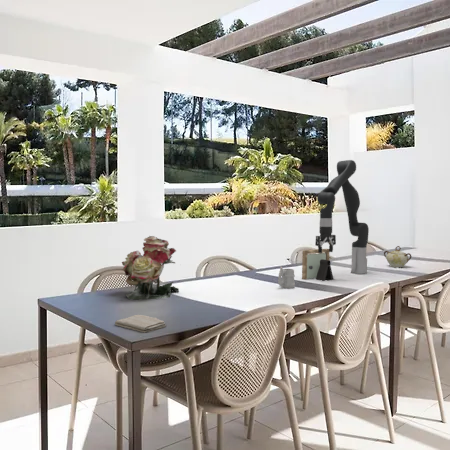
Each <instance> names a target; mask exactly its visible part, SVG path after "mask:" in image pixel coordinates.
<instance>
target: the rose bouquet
mask: <svg viewBox="0 0 450 450" xmlns="http://www.w3.org/2000/svg"><path fill="white" fill-rule="evenodd" d="M143 241H144V242H143V244H142V245H143V247H142V250H143V254H141V252H140V251H139V250H134V251H131V252H130V253H128V254H127V255H126V257H125V258H124V259H125V260H124V261H122V262H121V263H122V266H123V268H122V270H123V272H124V274H125V276H126V280H125V282H126V284H127V285H128V286H130V287H133V286H135V287H134V289H133V291H129V292H131V293H127V294H125V296H126V297H127V299H128V300H147V299H149V300H151V299H152V300H158V299H169V298H171V295H172V292H179V290H180V289H179V288H178V287H176V286H174V285H173V283H174V281H171V282H168V283H165V284H162V285H160V276H161V274H162V273H163V270H164V267H165V265H168V264H176V262H175V261H173V260H171V259H172V258H173V256H172V255H174V253H176V252H177V250H176V249H175V248H174V247H170V248H168V246H169V241H168V240H165V239H161V238H158V237H156V236H155V235H149V236H147V237H145V238H144V239H143ZM180 266H181V264H180ZM155 281H156V285H155V284H154V283H155ZM172 285H173V286H172Z"/></svg>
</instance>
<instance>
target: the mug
mask: <svg viewBox="0 0 450 450" xmlns="http://www.w3.org/2000/svg"><path fill="white" fill-rule="evenodd" d="M279 267H280V270H279V273H278V277H277V282H278V285H279V287H281V288H283V289H294V288H295V285H296V283H295V277H296V275H295V269H294V268H283V267H282V266H279Z"/></svg>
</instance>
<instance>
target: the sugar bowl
mask: <svg viewBox="0 0 450 450" xmlns="http://www.w3.org/2000/svg"><path fill="white" fill-rule="evenodd" d="M398 248H399V249H398ZM401 249H402V248H401V247H400V245H397V246H396V247H395V249H394V250H392V251H388V250H385V251H384V252H383V255H384V257H385V259H386V261H387V263H388V264H389V266H390V267H391V268H395V267H402V268H404V266H406V264H408V263H409V261H410V260H411V259H412V254H411V253H409V252H408V253H406V252H404V251H402V250H401ZM386 253H387V254H386ZM408 255H409V256H408Z"/></svg>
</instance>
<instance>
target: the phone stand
mask: <svg viewBox="0 0 450 450" xmlns="http://www.w3.org/2000/svg"><path fill="white" fill-rule="evenodd" d="M316 279H317V280H318V281H321V280H322V281H323V282H325V280H327V281H333V280H334V274H333V270H332V267H331V261H330V259H329V260H324V259H321V260H320V266H319V270H318V273H317V277H316V278H315V280H316ZM317 280H316V281H317ZM322 281H321V282H322Z"/></svg>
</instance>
